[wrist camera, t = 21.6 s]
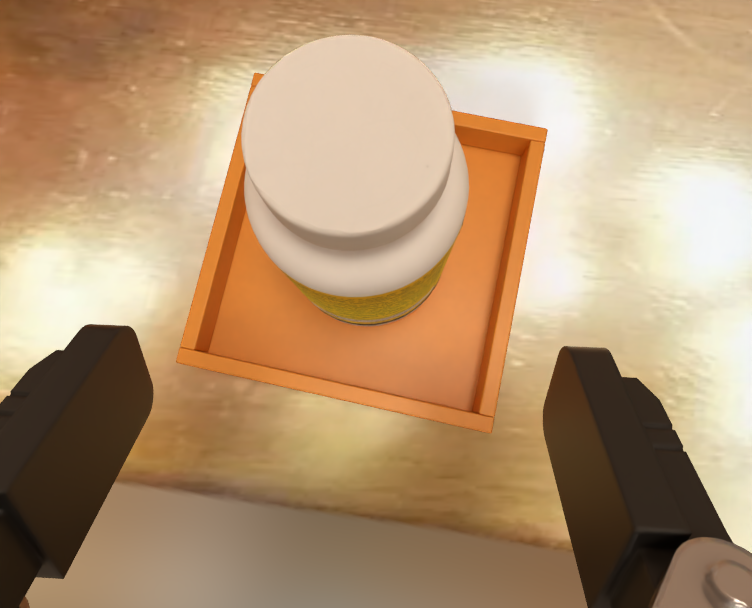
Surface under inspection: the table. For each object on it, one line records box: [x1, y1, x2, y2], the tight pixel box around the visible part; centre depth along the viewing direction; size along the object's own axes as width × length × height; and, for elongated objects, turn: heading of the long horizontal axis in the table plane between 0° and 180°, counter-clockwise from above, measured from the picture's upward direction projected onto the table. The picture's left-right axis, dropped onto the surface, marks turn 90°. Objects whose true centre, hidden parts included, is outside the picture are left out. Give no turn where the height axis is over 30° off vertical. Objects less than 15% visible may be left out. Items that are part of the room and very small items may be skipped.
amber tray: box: [176, 73, 547, 433], centre depth 22 cm, size 12×12×2 cm
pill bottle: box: [241, 35, 469, 326], centre depth 17 cm, size 6×6×11 cm
